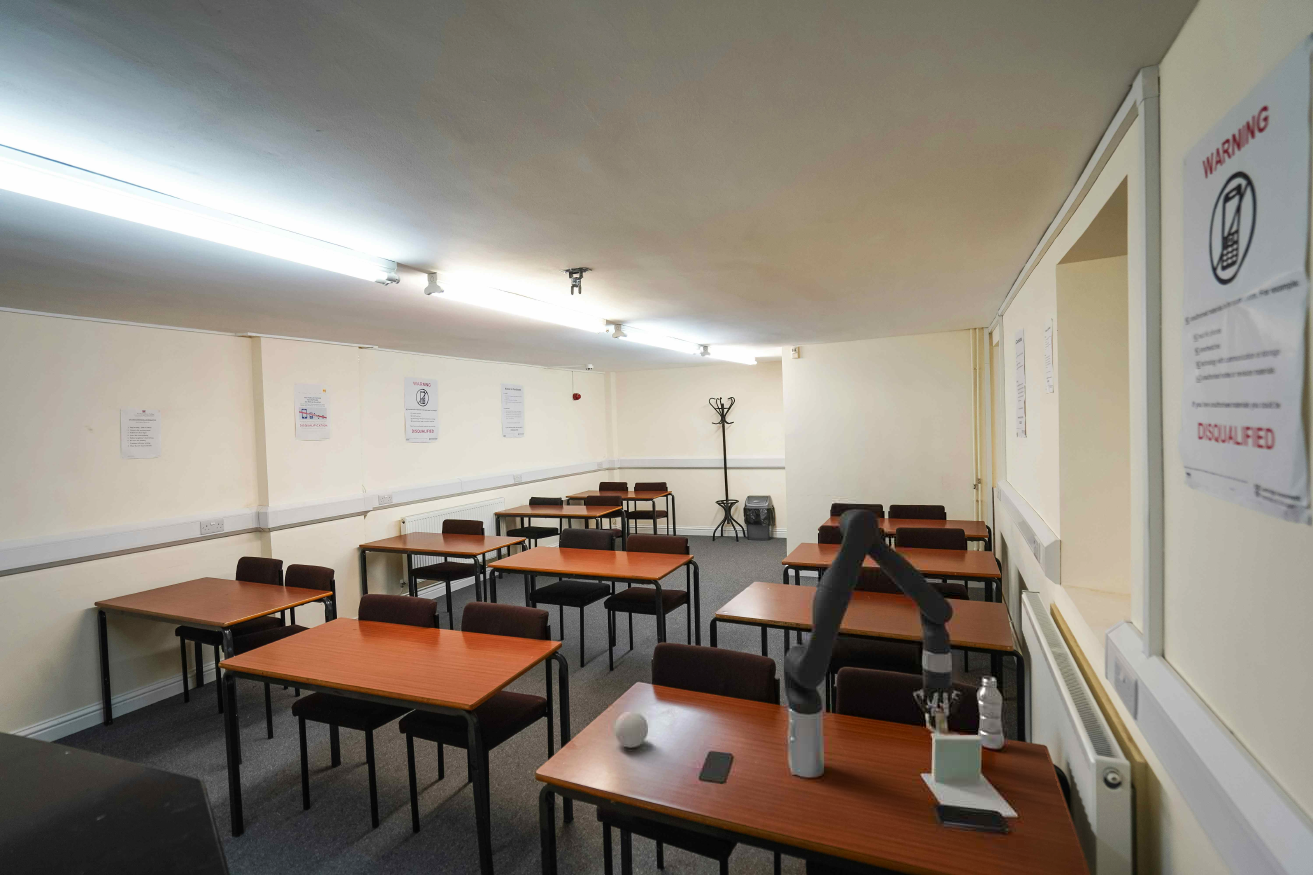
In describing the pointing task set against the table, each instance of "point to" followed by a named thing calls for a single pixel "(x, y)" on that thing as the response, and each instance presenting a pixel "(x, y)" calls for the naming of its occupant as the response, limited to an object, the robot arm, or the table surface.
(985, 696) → the plastic bottle
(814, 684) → the robot arm
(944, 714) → the scraper
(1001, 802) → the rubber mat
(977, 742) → the tile
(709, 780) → the phone
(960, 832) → the table surface
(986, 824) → the phone
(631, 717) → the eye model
